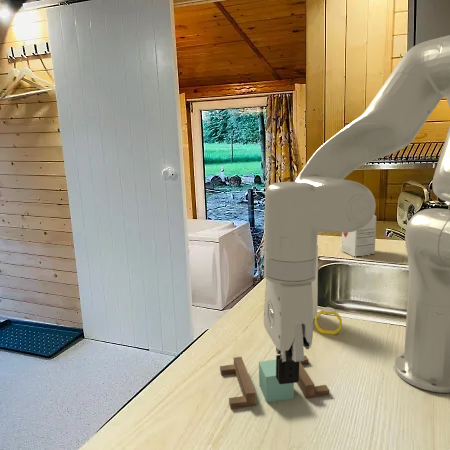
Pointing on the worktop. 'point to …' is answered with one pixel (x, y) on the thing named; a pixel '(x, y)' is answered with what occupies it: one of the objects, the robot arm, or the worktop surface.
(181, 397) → the worktop surface
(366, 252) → the supplement box
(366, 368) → the worktop surface
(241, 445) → the worktop surface
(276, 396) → the block
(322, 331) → the watch
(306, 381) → the wooden brackets
